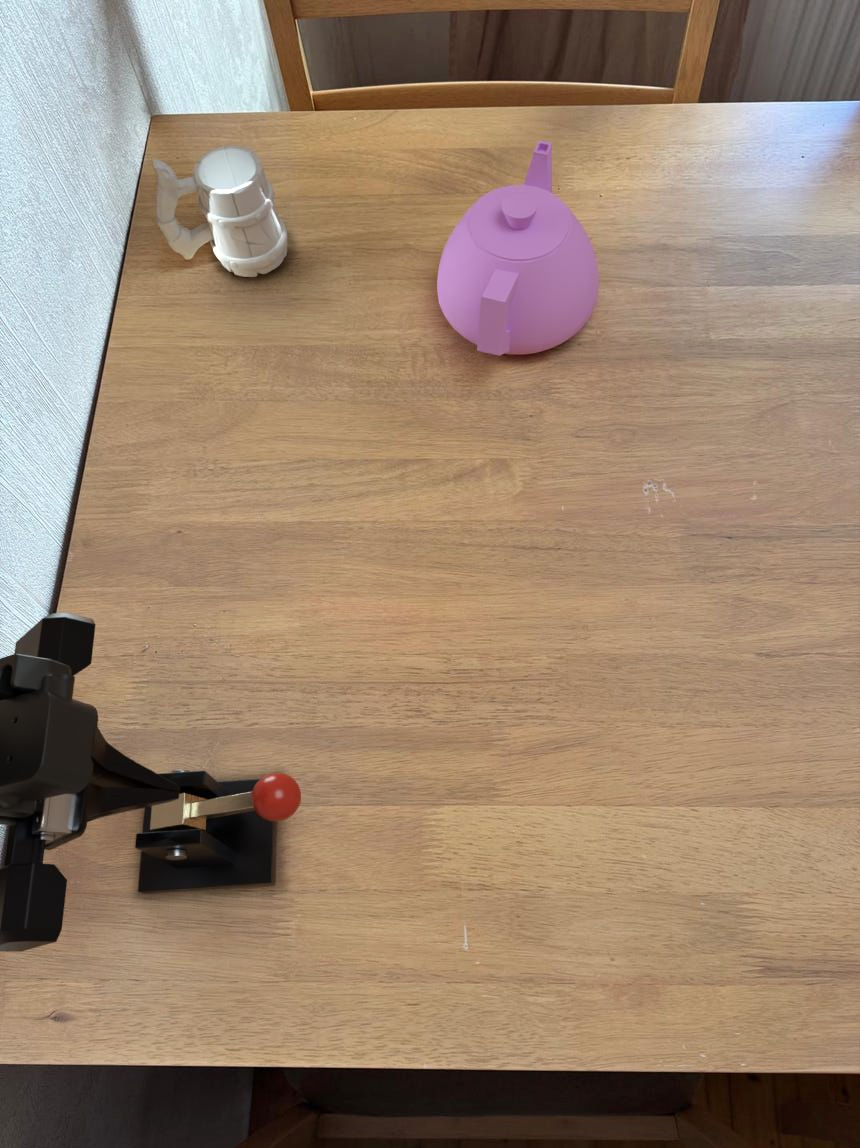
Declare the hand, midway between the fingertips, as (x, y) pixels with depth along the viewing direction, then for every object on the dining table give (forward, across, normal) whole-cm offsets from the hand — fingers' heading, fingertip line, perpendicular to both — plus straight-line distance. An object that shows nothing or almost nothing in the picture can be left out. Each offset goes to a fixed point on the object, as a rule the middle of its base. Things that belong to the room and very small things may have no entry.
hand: (176, 793), depth 58 cm
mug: (+8, +60, +12) cm, 61 cm away
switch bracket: (+8, 0, +11) cm, 14 cm away
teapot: (+28, +51, -8) cm, 59 cm away
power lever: (+6, 0, +2) cm, 6 cm away
